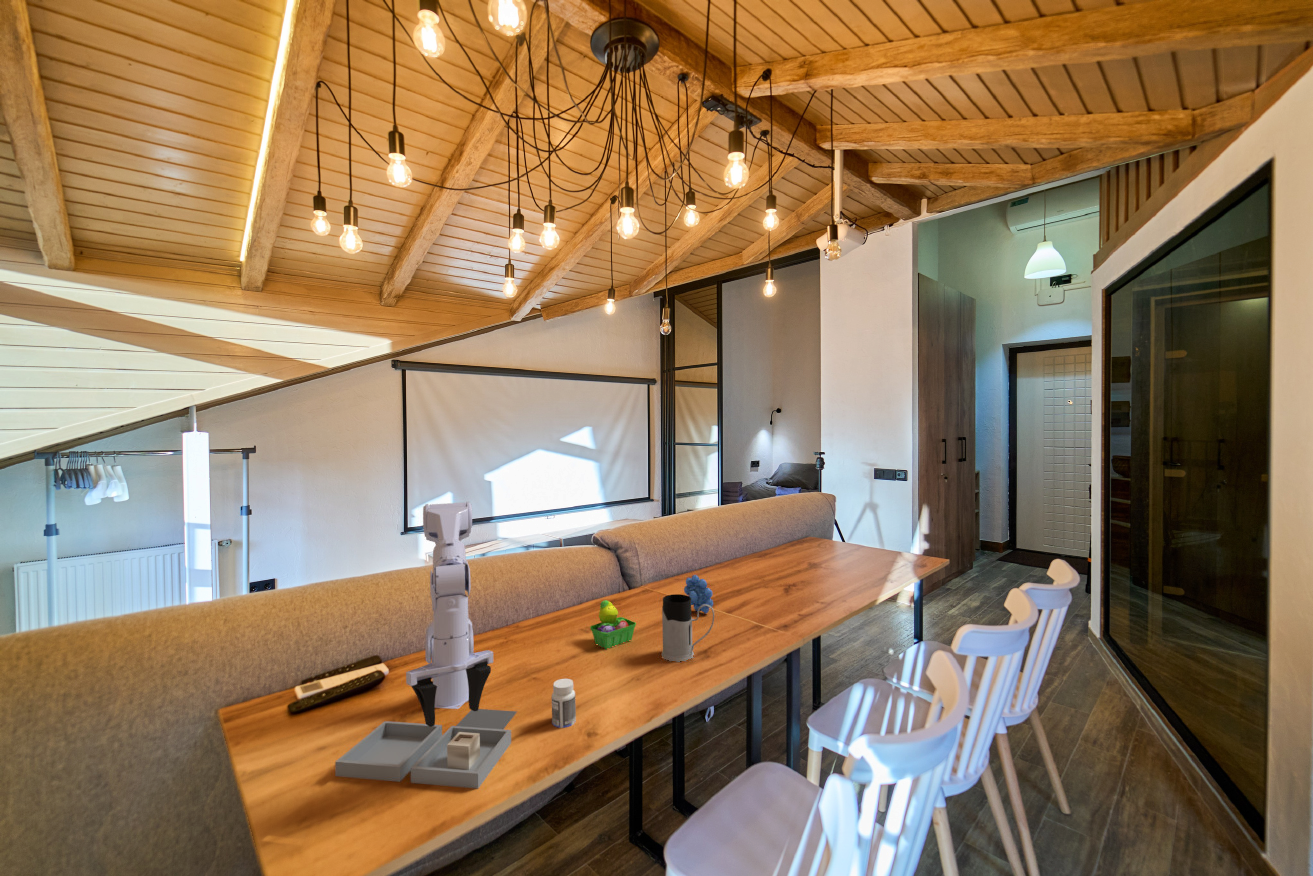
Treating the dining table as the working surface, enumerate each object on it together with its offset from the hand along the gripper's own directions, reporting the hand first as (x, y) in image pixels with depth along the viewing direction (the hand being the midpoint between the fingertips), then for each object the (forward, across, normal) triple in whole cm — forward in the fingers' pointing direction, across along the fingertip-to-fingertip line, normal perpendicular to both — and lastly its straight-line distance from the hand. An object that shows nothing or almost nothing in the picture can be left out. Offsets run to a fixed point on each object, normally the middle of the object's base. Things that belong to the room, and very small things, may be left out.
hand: (452, 717), depth 91 cm
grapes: (+3, +93, +25) cm, 96 cm away
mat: (+8, +12, +13) cm, 19 cm away
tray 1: (+9, -5, +14) cm, 18 cm away
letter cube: (+9, +3, +3) cm, 10 cm away
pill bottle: (+9, +23, +1) cm, 25 cm away
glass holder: (+7, +65, +5) cm, 66 cm away
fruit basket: (+5, +58, +27) cm, 64 cm away
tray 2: (+10, +3, +3) cm, 11 cm away
